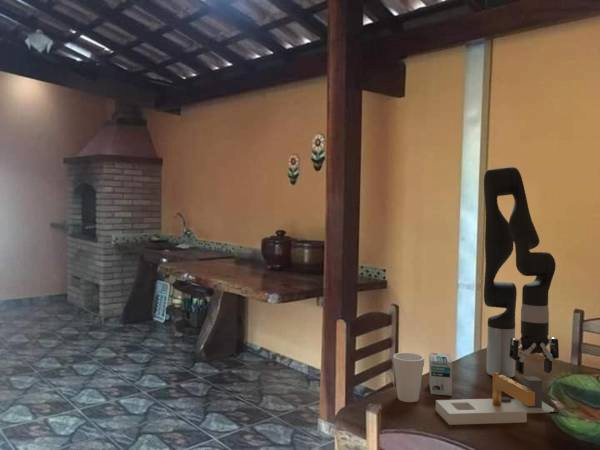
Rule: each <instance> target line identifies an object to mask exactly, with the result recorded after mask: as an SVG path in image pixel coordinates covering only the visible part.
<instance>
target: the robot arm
mask: <svg viewBox="0 0 600 450" xmlns="http://www.w3.org/2000/svg"><path fill="white" fill-rule="evenodd" d="M483 193H484V195H483V196H484V206H485V207H484V208H485V209H484V210H485V223H484V224H485V230H484V251H485V252H484V254H485V255H484V256H485V261H484V263H485V265H484V266H485V267H484V268H485V269H484V285H483V300H484V301H483V302H484V304H485V306H486V307H489V308H500V309H505V311H503V312H502V313H499V314H496V315H492V316H489V317H488V318H487V339H486V341H487V342H486V343H487V345H486V373H487V374H488V375H489V376H492V377H493V373H494V372H498V373H501V374H502V375H504V376H506V377H508V378H510V379H512V378H514V377H515V371H516V372H517V373H518V374H519V375H524V373H525V372H524V371H525V369H524V366H525V362H524V360H525V359H526V358H527V357H528V356H529V355H531V354H533V355H535V354H540V355H541V354H542V356H543V357H544V359H543V372H544V373H547V374H551V372H552V371H553V361H554V360H555V359H559V357H560V352H559V351H560V350H559V349H560V348H559V339H558V338H556V337H554V336H549V330H550V329H549V328H550V325H549V323H550V321H549V320H550V309H549V291H550V287H551V284H552V281H553V278H554V274H555V272H556V260H555V258H554V256H553V255H552V253H550V252H545V251H537V252H536V251H534V252H533V251H532V252H531V250H533V249H535V248H537V247H538V246H539V245H540V238H539V235H538V231H537V230H536V227H535V225H534V222H533V219H532V217H531V212H530V209H529V203H528V199H527V194H526V190H525V185H524V182H523V177H522V174H521V172H520V170H519V169H518V168H517V167H515V166H507V167H499V168H498V167H496V168H489V169H487V170H486V171H485V173H484V176H483ZM511 195H512V197H513V200H514V204H513V208H512V212H511V214H510V217H509V221H508V220H507V219H506V218H505V216H504V215H503V213H502V211H501V210H500V207H499V203H498V197H503V196H511ZM514 247H515V248H514ZM514 249H515V250H514ZM514 251H515V265H516V270H517V271H518V272H519V273H520V275H522V276H525V277H535V279H534V280H533V281H531V282H529V283H528V282H527V283H526V284H524V285H523V286H522V289H521V290H522V291H521V293H522V295H521V301H522V302H521V308H520V310H521V311H520V334H521V336H520V338H516V309H517V291H518V290H517V286H516V284H515V283H514V282H509V281H506V282H505V281H495V279H496V276H497V273H498V272H499V270H500V269H501V268H502V266H503V265H504V264H505V263H506V262H507V261H508V259H509V258H510V256H511V255H512V253H513V252H514ZM548 336H549V337H548ZM548 345H549V349H548V348H547V346H548ZM519 347H520V348H519Z"/></svg>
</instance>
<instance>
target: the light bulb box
mask: <svg viewBox="0 0 600 450" xmlns="http://www.w3.org/2000/svg"><path fill="white" fill-rule="evenodd" d="M428 356H429V358H428V359H429V361H428V362H429V363H428V364H429V366H428V367H429V368H428V370H429V372H428V373H429V376H428V378H429V379H428V380H429V383H428V384H429V390H430V395H441V396H450V397H451V396H453V361H452V359H451V356H450V353H439V352H429V355H428Z"/></svg>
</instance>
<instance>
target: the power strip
mask: <svg viewBox="0 0 600 450" xmlns="http://www.w3.org/2000/svg"><path fill="white" fill-rule="evenodd" d="M435 411H436V413H437V414H439V416H440V417H441V418H442V419H443V420H444V421H445V422H446V423H447V424H448V425H449V426H453V425H483V424H513V423H514V424H515V423H518V424H519V423H527V417H528V416H527V415H528V413H527V411H525V410H524V409H522V408H521V407H520V406H518V405H517V404H515V403H514V402H512V401H511V398H510V397H508V396H502V402H501V406H495V405H493V404H492V398H473V399H472V398H471V399H469V398H467V399H463V398H462V399H436V400H435Z"/></svg>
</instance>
